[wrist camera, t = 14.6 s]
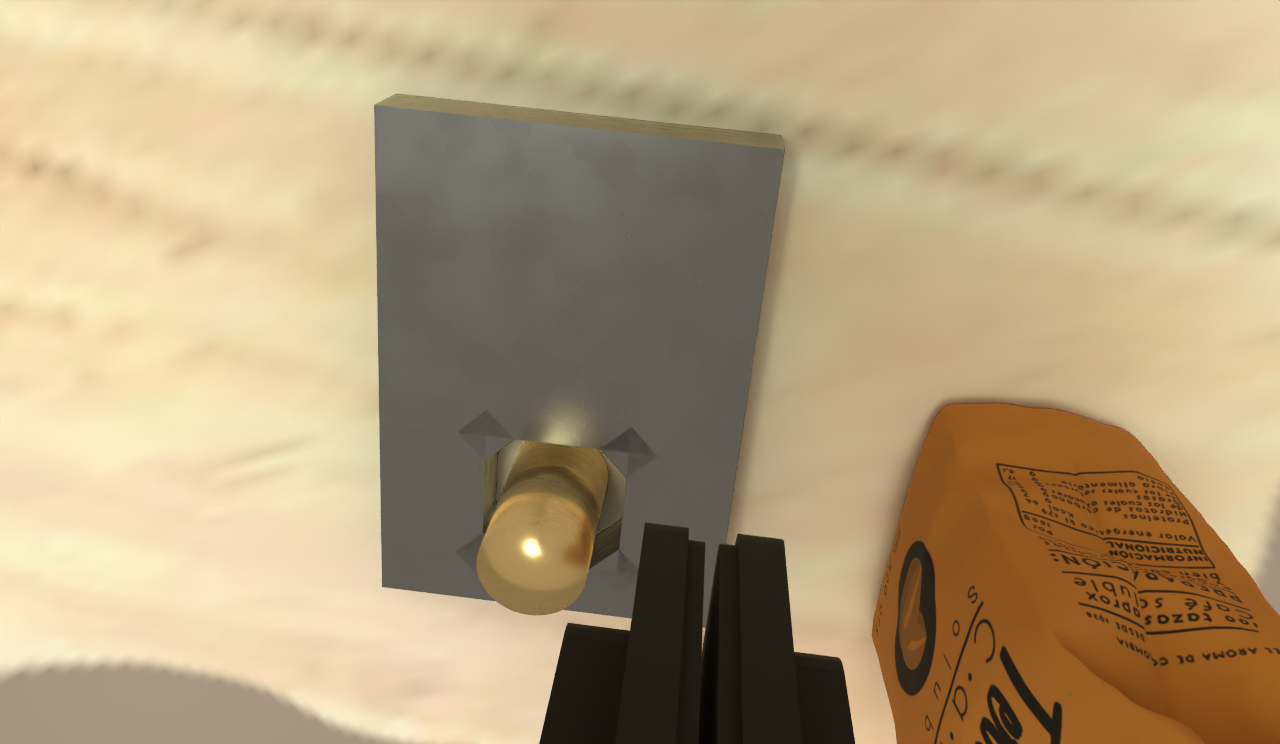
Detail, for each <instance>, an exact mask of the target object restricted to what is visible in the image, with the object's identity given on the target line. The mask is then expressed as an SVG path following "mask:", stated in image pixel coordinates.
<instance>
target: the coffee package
mask: <svg viewBox="0 0 1280 744" xmlns="http://www.w3.org/2000/svg"><path fill="white" fill-rule="evenodd" d="M872 638H873V642H874V645H875V648H876V651H877V654H878V657H879V662H880V666H881V670H882V675H883V679H884V683H885V686H886V690H887V694H888V698H889V701H890V705H891V709H892V713H893V717H894V721H895V729H896V738H897V744H1280V616H1279V615H1278V614H1277V612H1276V611H1275V610H1274V609H1273V608H1272V606H1271V605H1270V604H1269V603H1268V602H1267V601H1266V599H1265V598H1264V597H1263V595H1262V593H1261V592H1260V590H1259V588H1258V587H1257V585H1256V583H1255V582H1254V580H1253V579H1252V577H1251V576H1250V575H1249V573H1248V572H1247V571H1246V569H1245V568H1244V567H1243V566H1242V565H1241V564H1240V563H1239V562H1238V561H1237V559H1236V558H1235V556H1234V555H1233V553H1232V552H1231V551H1230V549H1229V548H1228V546H1227V545H1226V544H1225V543H1224V542H1223V541H1222V540H1221V539H1220V538H1219V536H1218V535H1217V534H1216V532H1215V531H1214V530H1213V529H1212V528H1211V527H1210V526H1209V525H1208V524H1207V522H1206V521H1205V520H1204V518H1203V517H1202V515H1201V514H1200V513H1199V512H1198V510H1197V509H1196V508H1195V507H1194V506H1193V505H1192V504H1191V503H1190V502H1189V500H1188V499H1187V498H1186V497H1185V496H1184V495H1183V494H1182V493H1181V491H1180V490H1179V489H1178V488H1177V487H1176V486H1175V485H1174V484H1173V482H1172V481H1171V480H1170V479H1169V477H1168V476H1167V475H1166V474H1165V473H1164V471H1163V470H1162V469H1161V467H1160V466H1159V464H1158V463H1157V461H1156V460H1155V459H1154V457H1153V456H1152V455H1151V454H1150V453H1149V452H1148V451H1147V450H1146V449H1145V447H1144V446H1143V445H1142V444H1141V443H1140V442H1139V441H1138V440H1137V439H1136V438H1135V437H1134V436H1133V435H1132V434H1130V433H1129V432H1127V431H1125V430H1123V429H1121V428H1118V427H1114V426H1109V425H1105V424H1102V423H1099V422H1096V421H1094V420H1091V419H1088V418H1085V417H1082V416H1079V415H1076V414H1073V413H1070V412H1065V411H1059V410H1055V409H1050V408H1026V407H1022V406H1017V405H1009V404H997V403H984V404H951V405H948V406H945V407H944V408H943V409H942V410H941V412H940V413H939V414H938V416H937V417H936V418H935V420H934V422H933V424H932V426H931V428H930V431H929V433H928V436H927V439H926V441H925V444H924V446H923V449H922V451H921V454H920V457H919V460H918V463H917V467H916V470H915V473H914V476H913V478H912V481H911V484H910V487H909V490H908V493H907V497H906V500H905V503H904V507H903V511H902V514H901V517H900V520H899V523H898V527H897V531H896V535H895V538H894V542H893V546H892V550H891V553H890V557H889V561H888V564H887V568H886V571H885V575H884V579H883V582H882V586H881V590H880V594H879V599H878V603H877V607H876V611H875V615H874V620H873V629H872Z"/></svg>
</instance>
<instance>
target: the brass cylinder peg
mask: <svg viewBox="0 0 1280 744" xmlns="http://www.w3.org/2000/svg"><path fill="white" fill-rule="evenodd" d="M607 482H608V468H607V465H606V462H605V459H604V457H603V455H602V454H601V452H600V451H599V450H598V449H594V448H586V447H577V446H569V445H561V444H552V443H544V442H536V441H527V442H526V443H525V444H524V445H523V446H522V447H521V449H520V450H519V452H518V454H517V456H516V459H515V461H514V464H513V466H512V469H511V471H510V474H509V476H508V479H507V481H506V484H505V486H504V489H503V491H502V494H501V496H500V499H499V501H498V504H497V506H496V509H495V511H494V514H493V516H492V519H491V521H490V524H489V526H488V529H487V531H486V534H485V536H484V539H483V541H482V544H481V546H480V549H479V551H478V555H477V562H476V565H477V573H478V576H479V579H480V582H481V584H482V586H483V587H484V589H485V590H486V592H487V593H488V594H489V595H490V596H491V597H492V598H493V599H494V600H495V601H497V602H498V603H499V604H501V605H502V606H504V607H506V608H508V609H510V610H513V611H515V612H519V613H522V614H528V615H546V614H551V613H555V612H558V611H560V610H563V609H565V608H566V607H568V606H569V605H571V604H572V603H573V602H574V601H575V600H576V599H577V598H578V597H579V596H580V594H581V593H582V591H583V589H584V586H585V583H586V579H587V574H588V570H589V565H590V561H591V556H592V551H593V547H594V542H595V538H596V533H597V528H598V524H599V519H600V515H601V510H602V506H603V501H604V496H605V492H606V487H607Z"/></svg>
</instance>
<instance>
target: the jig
mask: <svg viewBox="0 0 1280 744" xmlns="http://www.w3.org/2000/svg"><path fill="white" fill-rule="evenodd" d="M374 113H375V174H376V236H377V297H378V358H379V419H380V480H381V542H382V587H387V588H395V589H403V590H411V591H419V592H427V593H435V594H443V595H451V596H459V597H467V598H475V599H483V600H491V601H495V600H494V599H493V598H492V597H491V596H490V595H489V594H488V593H487V592H486V590H485V589H484V587H483V586H482V584H481V582H480V579H479V576H478V573H477V565H476V562H477V555H478V551H479V549H480V546H481V544H482V541H483V539H484V536H485V534H486V531H487V529H488V526H489V524H490V521H491V519H492V516H493V514H494V511H495V509H496V506H497V504H498V502H497V501H496V478H497V452H498V451H499V450H500V449H502V448H503V447H504V446H506V445H507V444H509V443H510V442H511V441H513V440H514V439H519V440H527V441H536V442H544V443H552V444H561V445H569V446H577V447H586V448H594V449H600V450H601V451H602V452H603V453H604V454H605V455H606V456H607V458H608V459H609V460H610V461H611V462H612V463H613V464H614V465H615V466H616V467H617V468H618V469H619V471H620V472H621V473H622V474H623V475H624V476H625V477H626V487H625V497H624V507H623V517H622V519H620V520H619V521H617V522H616V523H614V524H613V525H612V526H610V527H609V528H607V529H606V530H604V531H603V532H601V533H600V534H598V535H596V538H595V542H594V547H593V551H592V556H591V561H590V565H589V570H588V574H587V579H586V583H585V586H584V589H583V591H582V593H581V594H580V596H579V597H578V598H577V599H576V600H575V601H574V602H573V603H572V604H571V605H569V606H568V607H566V608H565V609H563V610H570V611H578V612H586V613H594V614H602V615H610V616H618V617H626V618H632V613H633V606H634V599H635V591H636V584H637V577H638V569H639V562H640V555H641V547H642V540H643V533H644V525H645V522H647V523H655V524H663V525H671V526H679V527H687V528H689V539H688V540H694V541H702V542H705V570H704V598H703V626H702V627H705V628H706V623H707V616H708V610H709V603H710V597H711V590H712V584H713V577H714V571H715V564H716V558H717V551H718V546H719V544H725V543H726V536H727V530H728V523H729V516H730V510H731V503H732V496H733V490H734V483H735V476H736V470H737V463H738V456H739V450H740V443H741V436H742V430H743V423H744V416H745V410H746V403H747V396H748V390H749V383H750V376H751V370H752V363H753V356H754V350H755V343H756V336H757V330H758V323H759V317H760V310H761V303H762V297H763V290H764V283H765V277H766V270H767V263H768V257H769V250H770V243H771V237H772V230H773V223H774V217H775V210H776V203H777V197H778V190H779V183H780V177H781V170H782V163H783V157H784V150H785V149H784V145H783V141H782V137H781V135H774V134H764V133H755V132H746V131H737V130H727V129H718V128H709V127H699V126H690V125H681V124H672V123H662V122H653V121H644V120H635V119H625V118H616V117H607V116H597V115H588V114H579V113H570V112H560V111H551V110H542V109H533V108H523V107H514V106H505V105H496V104H486V103H477V102H468V101H458V100H449V99H440V98H431V97H421V96H412V95H403V94H395V95H393V96H391V97H389V98H387V99H385V100H383V101H381V102H379V103H377V104H375V105H374Z"/></svg>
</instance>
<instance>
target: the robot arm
mask: <svg viewBox="0 0 1280 744" xmlns="http://www.w3.org/2000/svg"><path fill="white" fill-rule="evenodd" d="M688 539H689V528H687V527H679V526H671V525H663V524H655V523H647V522H645V525H644V533H643V540H642V547H641V555H640V562H639V569H638V577H637V584H636V591H635V599H634V606H633V613H632V621H631V628H630V631H627V630H619V629H612V628H604V627H596V626H588V625H581V624H573V623H568V624H567V626H566V630H565V634H564V638H563V642H562V646H561V651H560V655H559V660H558V664H557V668H556V673H555V677H554V682H553V686H552V690H551V695H550V699H549V704H548V708H547V712H546V717H545V721H544V726H543V730H542V734H541V739H540V743H539V744H855V739H854V733H853V726H852V720H851V713H850V707H849V700H848V694H847V687H846V681H845V674H844V669H843V665H842V661H841V660H840V659H839V658H837V657H830V656H822V655H814V654H806V653H799V652H794V647H793V636H792V625H791V613H790V602H789V591H788V580H787V569H786V558H785V546H784V541H783V540H782V539H775V538H767V537H759V536H751V535H743V534H738V535H737V539H736V543H735V546H734V545H726V544H719V546H718V551H717V558H716V564H715V571H714V577H713V584H712V590H711V597H710V603H709V610H708V616H707V623H706V630H705V636H704V643H703V649H702V626H703V598H704V570H705V542H702V541H694V540H688ZM701 654H702V656H701Z"/></svg>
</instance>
